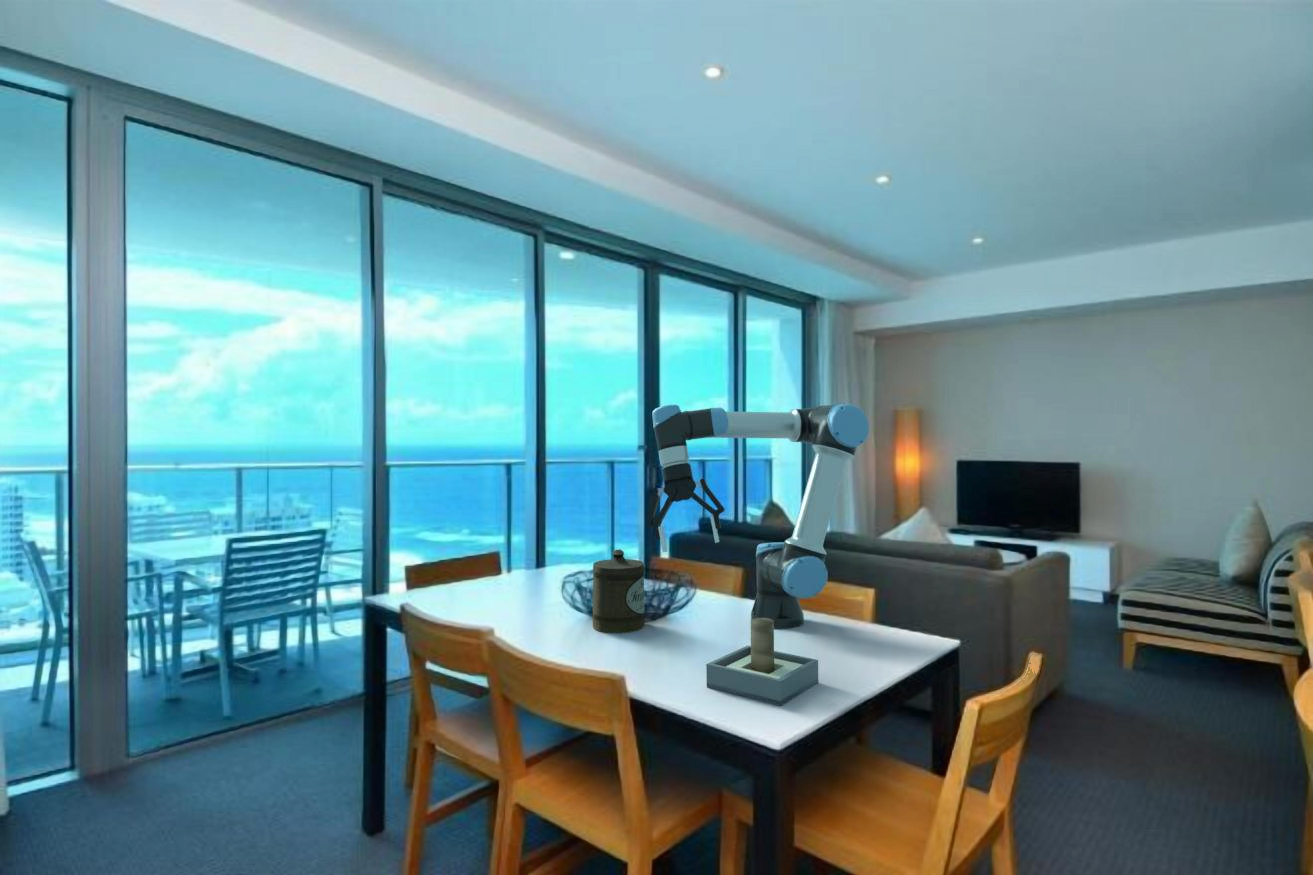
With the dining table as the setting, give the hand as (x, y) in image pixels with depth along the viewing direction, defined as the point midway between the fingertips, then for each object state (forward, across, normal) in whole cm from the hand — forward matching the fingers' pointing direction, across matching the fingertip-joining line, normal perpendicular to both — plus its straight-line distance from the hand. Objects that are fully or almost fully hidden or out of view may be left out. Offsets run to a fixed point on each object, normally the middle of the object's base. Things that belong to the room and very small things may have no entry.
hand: (691, 547), depth 181 cm
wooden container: (+19, +29, -22) cm, 41 cm away
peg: (+31, -13, +18) cm, 38 cm away
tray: (+32, -13, +18) cm, 39 cm away
